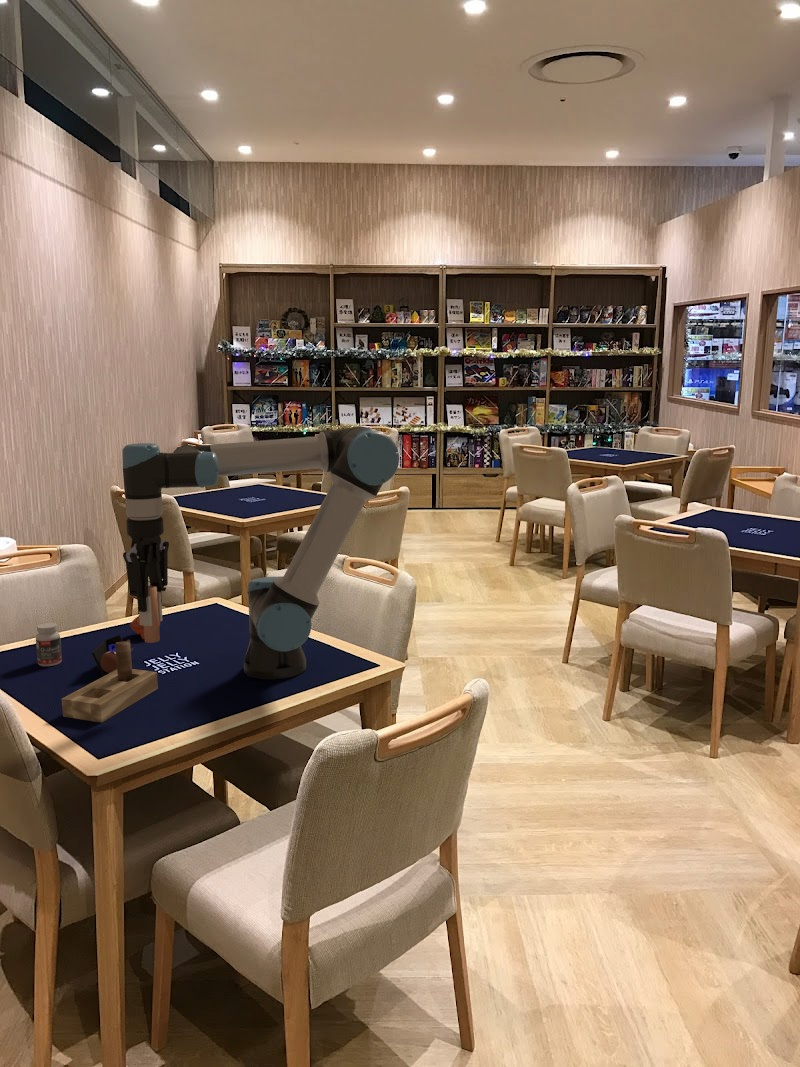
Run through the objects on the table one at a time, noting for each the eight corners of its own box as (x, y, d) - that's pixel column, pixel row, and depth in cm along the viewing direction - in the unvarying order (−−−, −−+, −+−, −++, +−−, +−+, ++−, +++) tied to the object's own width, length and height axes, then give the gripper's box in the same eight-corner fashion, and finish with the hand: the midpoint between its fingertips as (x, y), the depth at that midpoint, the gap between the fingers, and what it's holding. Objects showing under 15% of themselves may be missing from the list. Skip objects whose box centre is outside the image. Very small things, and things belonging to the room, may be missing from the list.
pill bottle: (42, 668, 212) (38, 630, 210) (34, 662, 216) (31, 624, 214) (65, 663, 215) (62, 625, 213) (58, 657, 220) (54, 620, 218)
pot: (123, 638, 234) (124, 613, 234) (142, 636, 241) (143, 612, 241) (147, 640, 231) (148, 615, 231) (165, 638, 238) (166, 614, 238)
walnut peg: (136, 692, 196) (133, 642, 194) (127, 697, 193) (124, 646, 191) (124, 690, 197) (121, 640, 195) (116, 695, 195) (112, 645, 192)
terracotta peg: (162, 638, 188) (159, 586, 186) (154, 643, 185) (150, 589, 183) (150, 637, 189) (147, 585, 187) (141, 641, 186) (138, 588, 184)
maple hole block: (157, 688, 198) (156, 672, 198) (101, 722, 180) (100, 704, 179) (121, 683, 202) (120, 667, 201) (63, 716, 183) (61, 698, 182)
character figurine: (137, 660, 218) (118, 682, 204) (109, 658, 218) (87, 680, 204) (137, 631, 217) (118, 651, 202) (109, 629, 217) (87, 649, 202)
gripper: (152, 509, 191) (158, 611, 195) (105, 522, 176) (113, 631, 180) (181, 511, 188) (186, 614, 193) (136, 524, 173) (143, 635, 178)
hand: (151, 622), depth 187 cm, fingers closed on terracotta peg, 3 cm apart
